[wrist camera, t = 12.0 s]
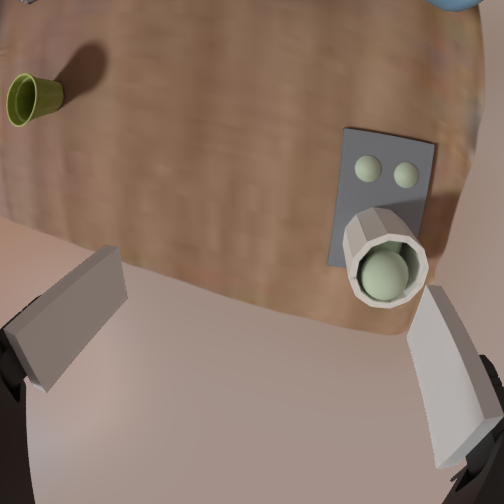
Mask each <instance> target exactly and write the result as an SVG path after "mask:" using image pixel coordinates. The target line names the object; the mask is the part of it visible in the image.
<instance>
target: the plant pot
mask: <svg viewBox="0 0 504 504" xmlns="http://www.w3.org/2000/svg"><path fill="white" fill-rule="evenodd" d="M63 98H64V94H63V86H62V85H61V83H59V82H57V81H51V80H45V79H40V78H36V77H34V76H32V75H31V74H28V73H23V74H20V75H19V76H17V77H16V78H15V80H14V81H13V83H12V84H11V86H10V89H9V92H8V95H7V103H6V106H7V107H6V108H7V114H8V118H9V120H10V122H11V123H12V124H13V125H14V126H16V127H21V126H24V125H25V124H27V123H28V122H29V121H31V120H32V119H35V118H38V117H41V116H44V115H47V114H50V113H53V112H55V111H57V110H58V109H59V108H60V106H61V104H62V102H63Z"/></svg>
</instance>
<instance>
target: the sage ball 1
mask: <svg viewBox="0 0 504 504" xmlns="http://www.w3.org/2000/svg"><path fill="white" fill-rule="evenodd" d="M401 248H402V242H397V241H390V240H389V241H386V242H384V243H381V244H379V245H376V246H373V247H371V248H370V250H369V251H368V252H367V253H366V254H365V255H364V256H365V257H366V258H368V257H369V256H370V255H372V254H373V253H375V252H377V251H381V250H389V251H393V252H395V253H397V254H399V253H400V251H401Z"/></svg>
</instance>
